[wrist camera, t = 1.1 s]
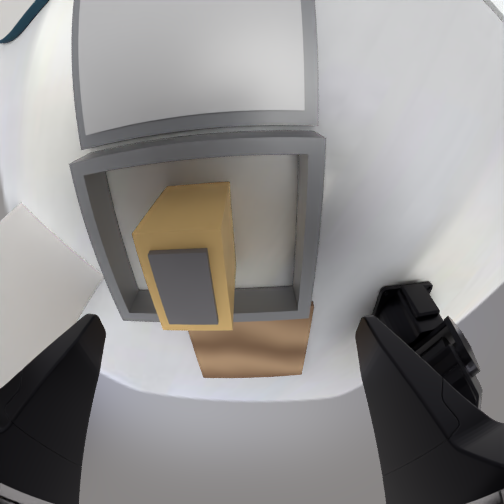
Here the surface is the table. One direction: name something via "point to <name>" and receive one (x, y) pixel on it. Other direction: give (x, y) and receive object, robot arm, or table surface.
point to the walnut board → (253, 348)
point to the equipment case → (196, 116)
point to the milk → (37, 289)
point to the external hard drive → (17, 16)
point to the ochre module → (190, 256)
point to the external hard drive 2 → (497, 7)
